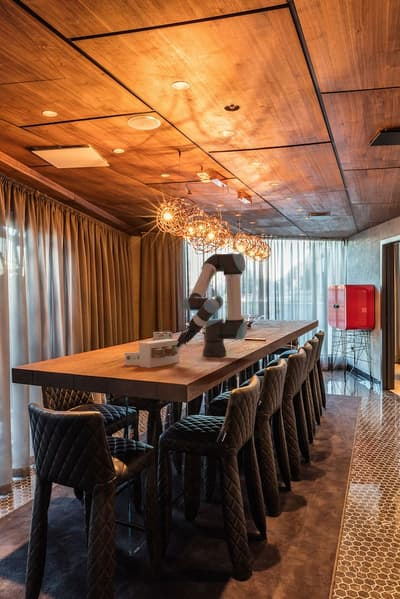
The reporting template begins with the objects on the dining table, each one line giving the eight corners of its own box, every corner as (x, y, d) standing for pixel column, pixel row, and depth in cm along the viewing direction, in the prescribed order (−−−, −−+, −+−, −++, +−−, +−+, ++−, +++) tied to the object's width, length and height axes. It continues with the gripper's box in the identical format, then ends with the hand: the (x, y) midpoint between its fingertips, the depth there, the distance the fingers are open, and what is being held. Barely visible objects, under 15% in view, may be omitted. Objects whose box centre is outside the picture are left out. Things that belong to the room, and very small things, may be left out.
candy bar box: (172, 358, 280) (172, 331, 280) (170, 360, 275) (170, 332, 275) (155, 358, 283) (155, 331, 282) (152, 359, 278) (152, 332, 278)
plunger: (153, 355, 255) (153, 347, 255) (164, 357, 249) (164, 349, 249) (147, 356, 251) (147, 348, 251) (159, 358, 246) (159, 350, 246)
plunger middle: (163, 354, 261) (163, 346, 261) (174, 355, 255) (174, 347, 255) (157, 355, 258) (157, 347, 258) (169, 356, 252) (169, 348, 252)
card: (143, 364, 259) (143, 352, 259) (143, 364, 257) (143, 352, 257) (125, 365, 257) (124, 352, 257) (125, 365, 256) (124, 352, 256)
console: (169, 360, 272) (169, 338, 271) (179, 362, 267) (179, 339, 266) (139, 366, 253) (139, 342, 253) (149, 367, 248) (149, 343, 248)
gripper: (194, 327, 245) (171, 356, 256) (209, 326, 255) (186, 353, 266) (186, 317, 248) (164, 346, 259) (202, 316, 259) (179, 343, 269)
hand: (175, 350), depth 263 cm, fingers closed
